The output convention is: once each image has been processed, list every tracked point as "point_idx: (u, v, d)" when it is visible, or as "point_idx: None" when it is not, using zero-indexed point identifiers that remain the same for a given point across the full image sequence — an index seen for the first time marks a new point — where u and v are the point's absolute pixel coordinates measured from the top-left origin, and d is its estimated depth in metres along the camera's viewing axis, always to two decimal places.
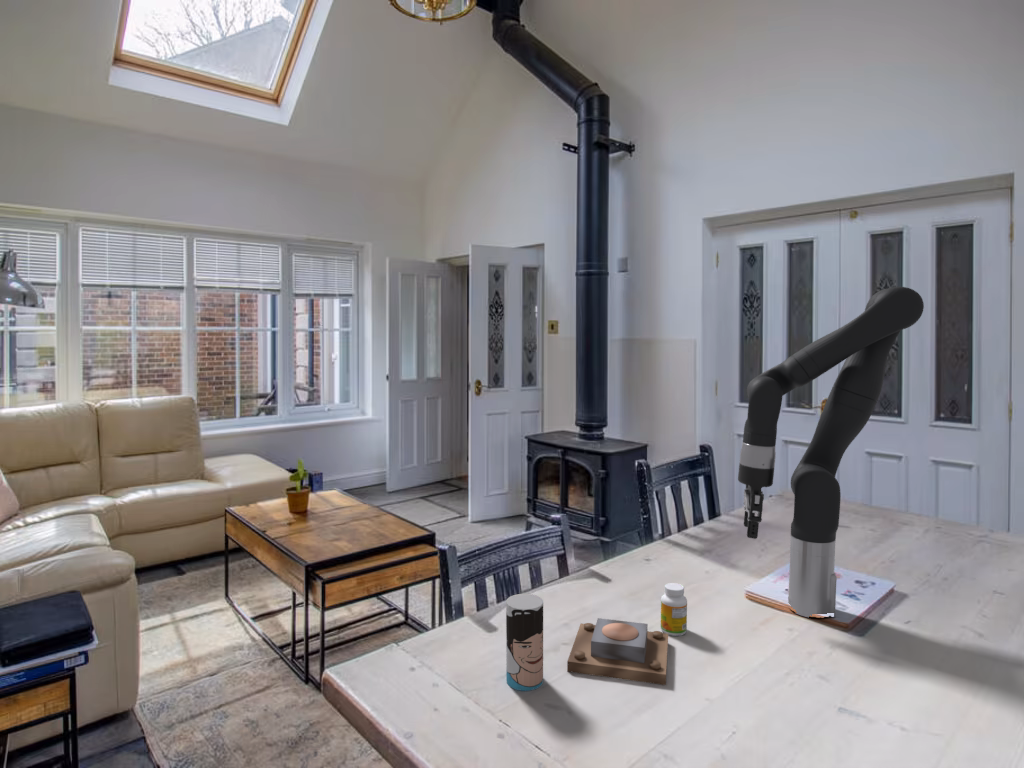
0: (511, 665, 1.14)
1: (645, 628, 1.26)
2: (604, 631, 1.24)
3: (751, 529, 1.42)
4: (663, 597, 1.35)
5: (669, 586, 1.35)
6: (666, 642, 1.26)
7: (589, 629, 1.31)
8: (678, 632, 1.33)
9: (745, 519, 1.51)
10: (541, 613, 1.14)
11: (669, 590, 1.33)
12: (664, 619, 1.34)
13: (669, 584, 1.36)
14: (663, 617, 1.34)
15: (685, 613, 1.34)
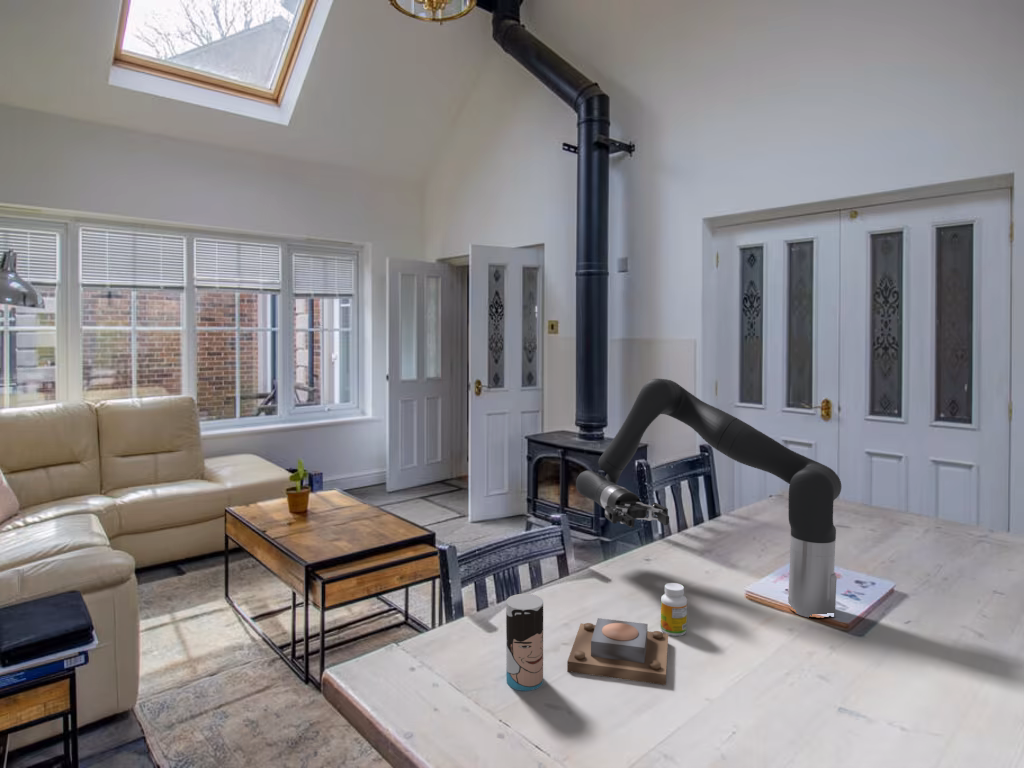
0: (511, 665, 1.14)
1: (645, 628, 1.26)
2: (604, 631, 1.24)
3: (624, 522, 1.45)
4: (663, 597, 1.35)
5: (669, 586, 1.35)
6: (666, 642, 1.26)
7: (589, 629, 1.31)
8: (678, 632, 1.33)
9: (662, 522, 1.47)
10: (541, 613, 1.14)
11: (669, 590, 1.33)
12: (664, 619, 1.34)
13: (669, 584, 1.36)
14: (663, 617, 1.34)
15: (685, 613, 1.34)
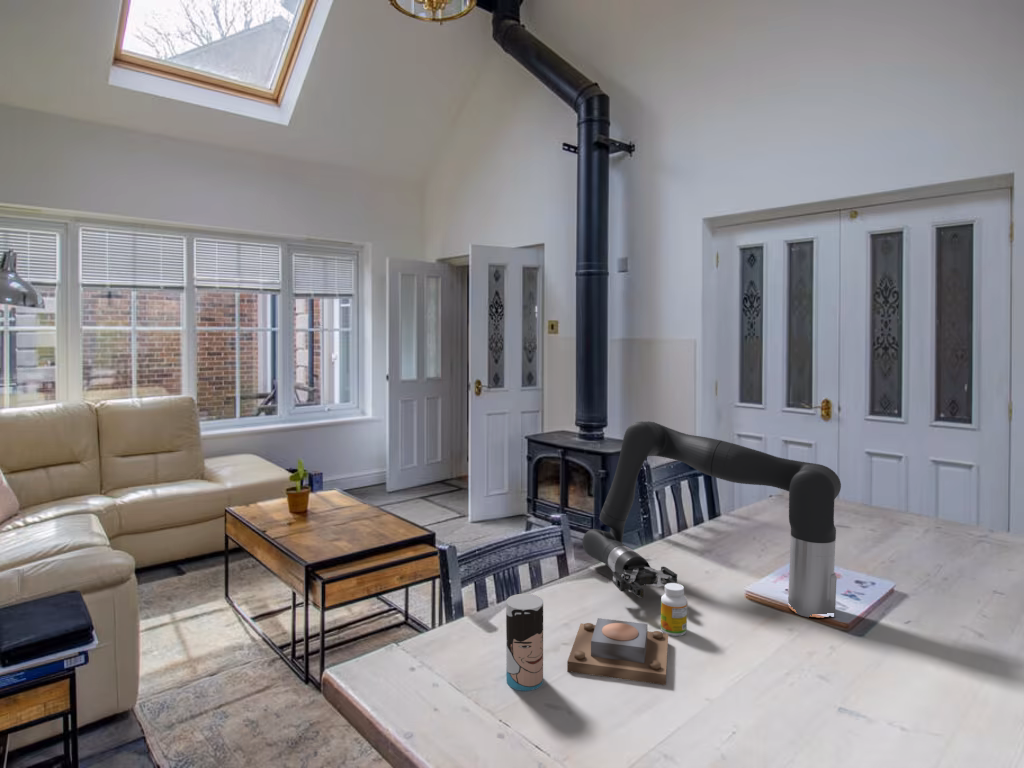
0: (511, 665, 1.14)
1: (645, 628, 1.26)
2: (604, 631, 1.24)
3: (633, 591, 1.42)
4: (663, 597, 1.35)
5: (669, 586, 1.35)
6: (666, 642, 1.26)
7: (589, 629, 1.31)
8: (678, 632, 1.33)
9: None
10: (541, 613, 1.14)
11: (669, 590, 1.33)
12: (664, 619, 1.34)
13: (669, 584, 1.36)
14: (663, 617, 1.34)
15: (685, 613, 1.34)
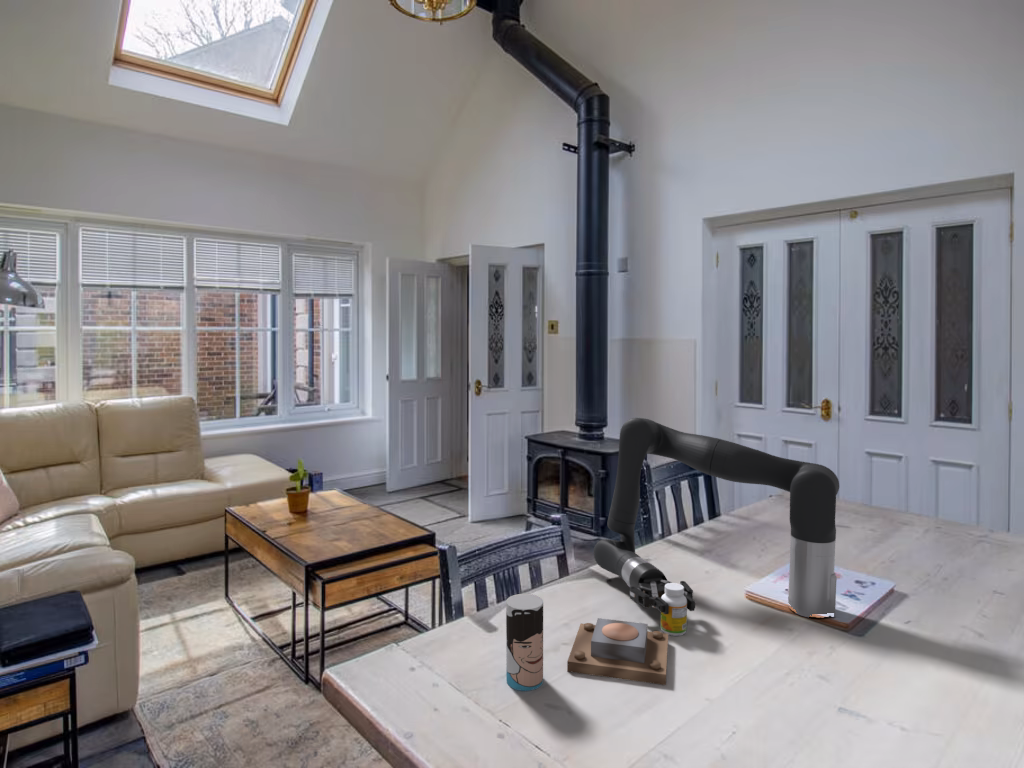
0: (511, 665, 1.14)
1: (645, 628, 1.26)
2: (604, 631, 1.24)
3: (657, 607, 1.34)
4: (663, 597, 1.35)
5: (669, 586, 1.35)
6: (666, 642, 1.26)
7: (589, 629, 1.31)
8: (678, 632, 1.33)
9: (687, 607, 1.35)
10: (541, 613, 1.14)
11: (669, 590, 1.33)
12: (664, 619, 1.34)
13: (669, 584, 1.36)
14: (663, 617, 1.34)
15: (685, 613, 1.34)
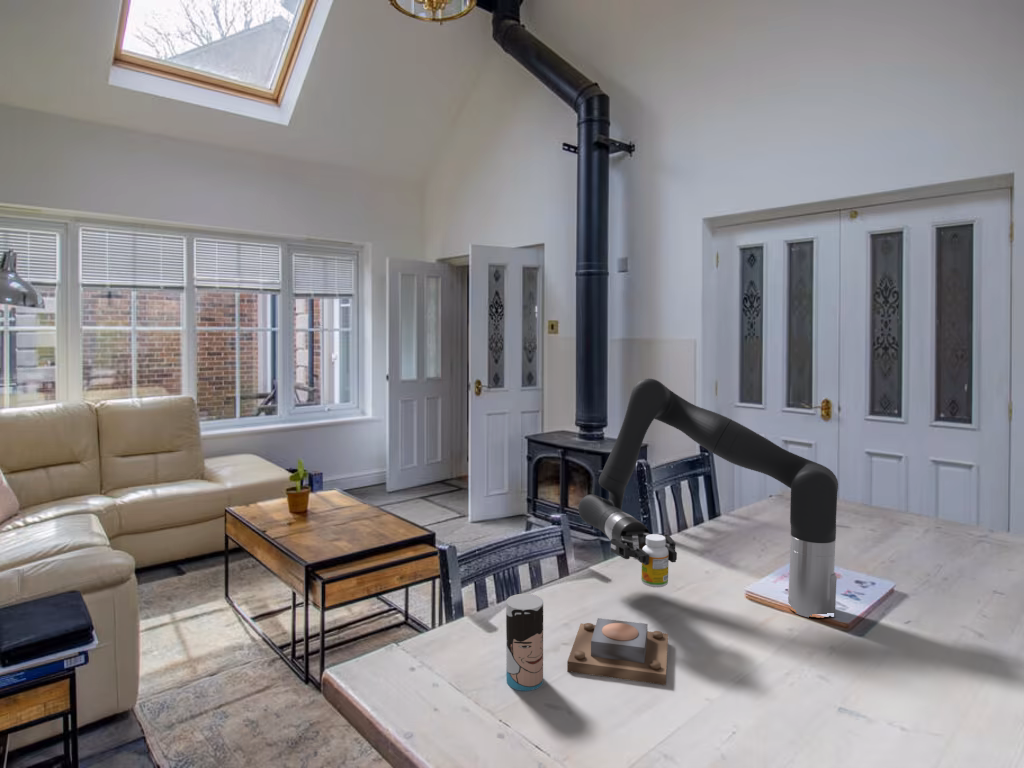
0: (511, 665, 1.14)
1: (645, 628, 1.26)
2: (604, 631, 1.24)
3: (637, 558, 1.30)
4: (644, 548, 1.31)
5: (650, 536, 1.31)
6: (666, 642, 1.26)
7: (589, 629, 1.31)
8: (659, 583, 1.29)
9: (669, 559, 1.31)
10: (541, 613, 1.14)
11: (650, 541, 1.29)
12: (645, 570, 1.30)
13: (650, 535, 1.32)
14: (644, 568, 1.30)
15: (666, 564, 1.30)
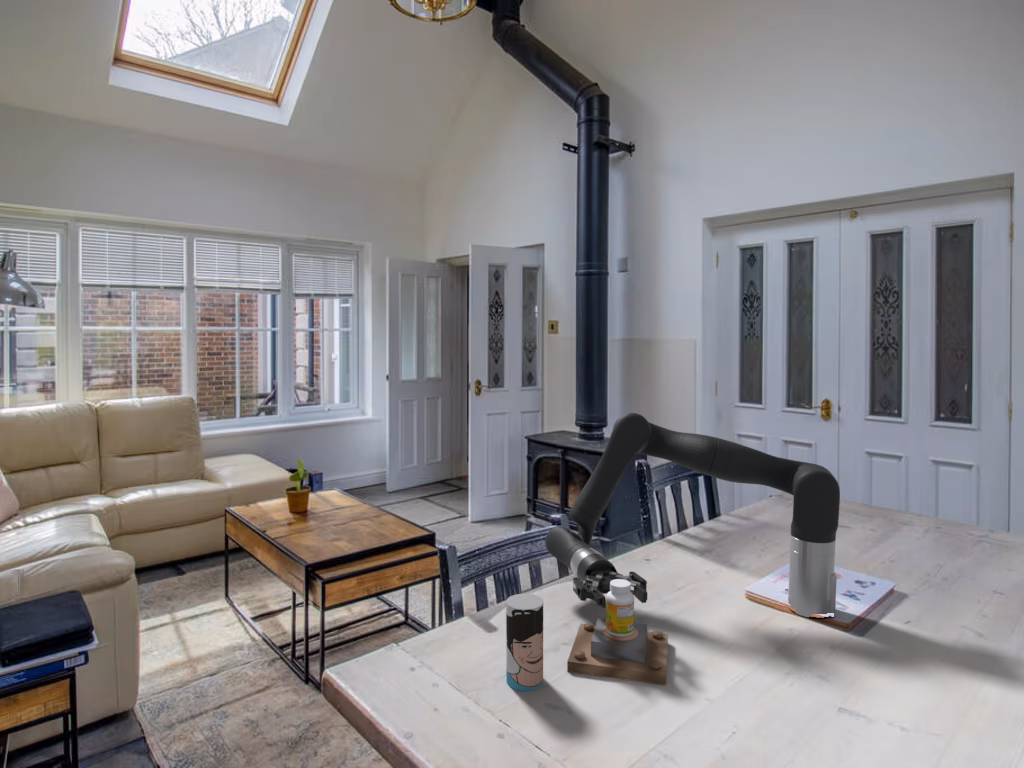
0: (511, 665, 1.14)
1: (645, 628, 1.26)
2: (604, 631, 1.24)
3: (594, 600, 1.23)
4: (608, 594, 1.24)
5: (615, 582, 1.24)
6: (666, 642, 1.26)
7: (589, 629, 1.31)
8: (624, 633, 1.22)
9: (639, 599, 1.25)
10: (541, 613, 1.14)
11: (614, 587, 1.22)
12: (609, 618, 1.23)
13: (615, 580, 1.25)
14: (608, 616, 1.23)
15: (631, 612, 1.22)
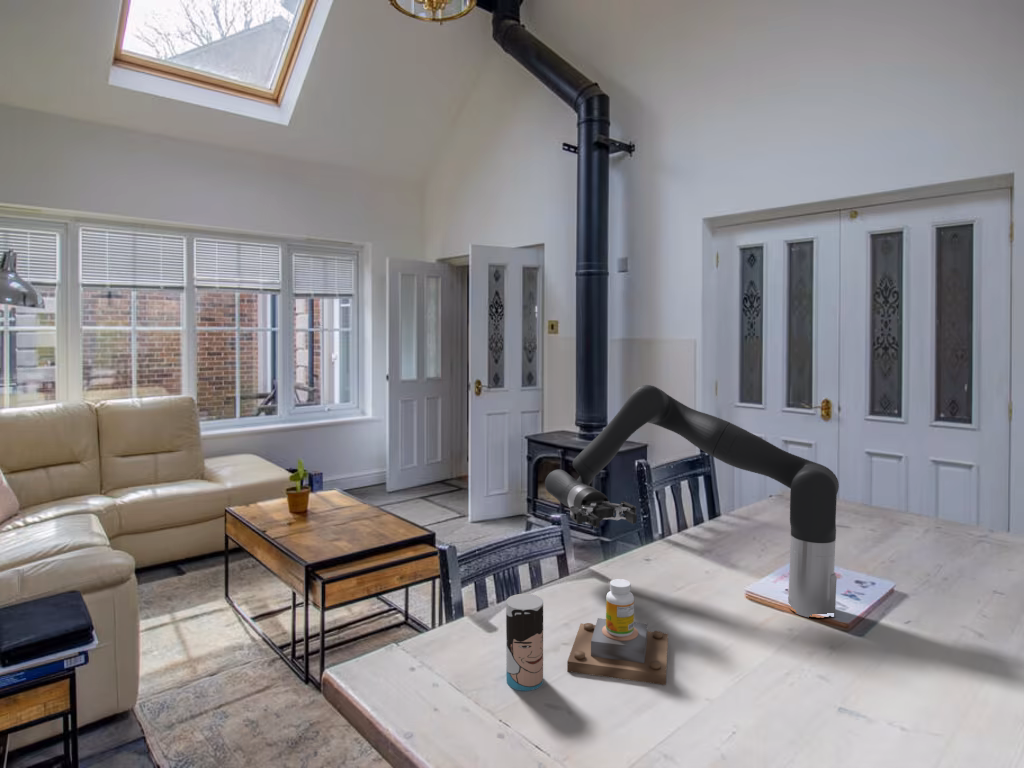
0: (511, 665, 1.14)
1: (645, 628, 1.26)
2: (604, 631, 1.24)
3: (589, 522, 1.37)
4: (608, 594, 1.24)
5: (615, 582, 1.24)
6: (666, 642, 1.26)
7: (589, 629, 1.31)
8: (624, 633, 1.22)
9: (629, 521, 1.39)
10: (541, 613, 1.14)
11: (614, 587, 1.22)
12: (609, 618, 1.23)
13: (615, 580, 1.25)
14: (608, 616, 1.23)
15: (631, 612, 1.22)
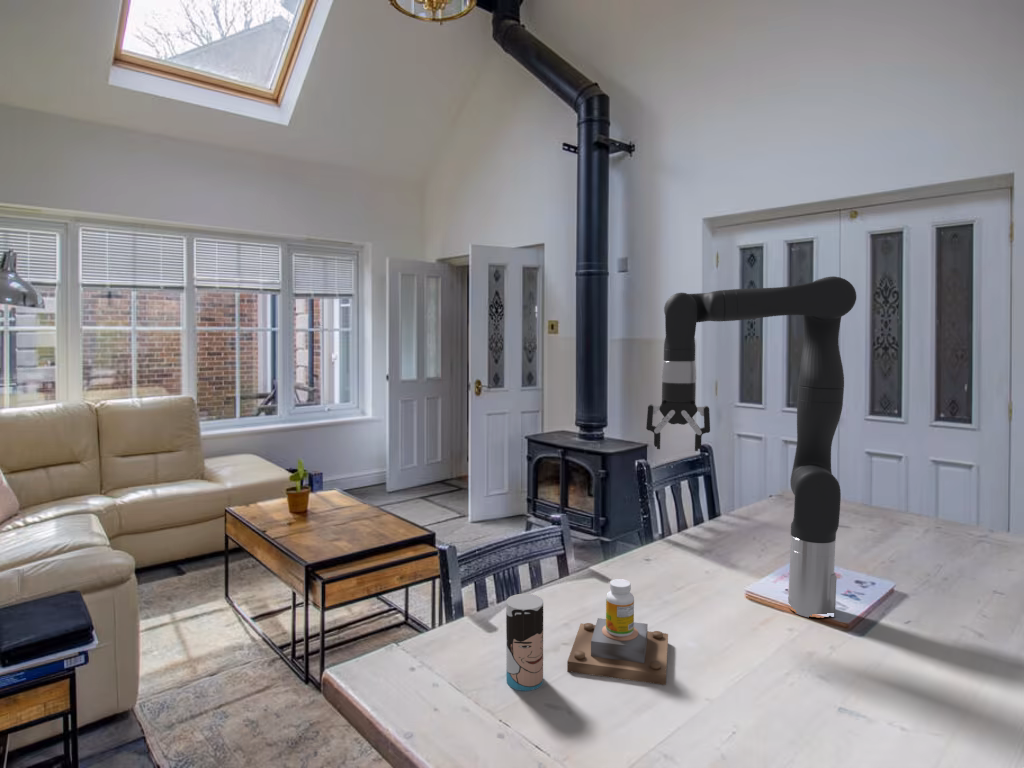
0: (511, 665, 1.14)
1: (645, 628, 1.26)
2: (604, 631, 1.24)
3: None
4: (608, 594, 1.24)
5: (615, 582, 1.24)
6: (666, 642, 1.26)
7: (589, 629, 1.31)
8: (624, 632, 1.22)
9: None
10: (541, 613, 1.14)
11: (614, 587, 1.22)
12: (609, 618, 1.23)
13: (615, 580, 1.25)
14: (608, 616, 1.23)
15: (631, 612, 1.22)
